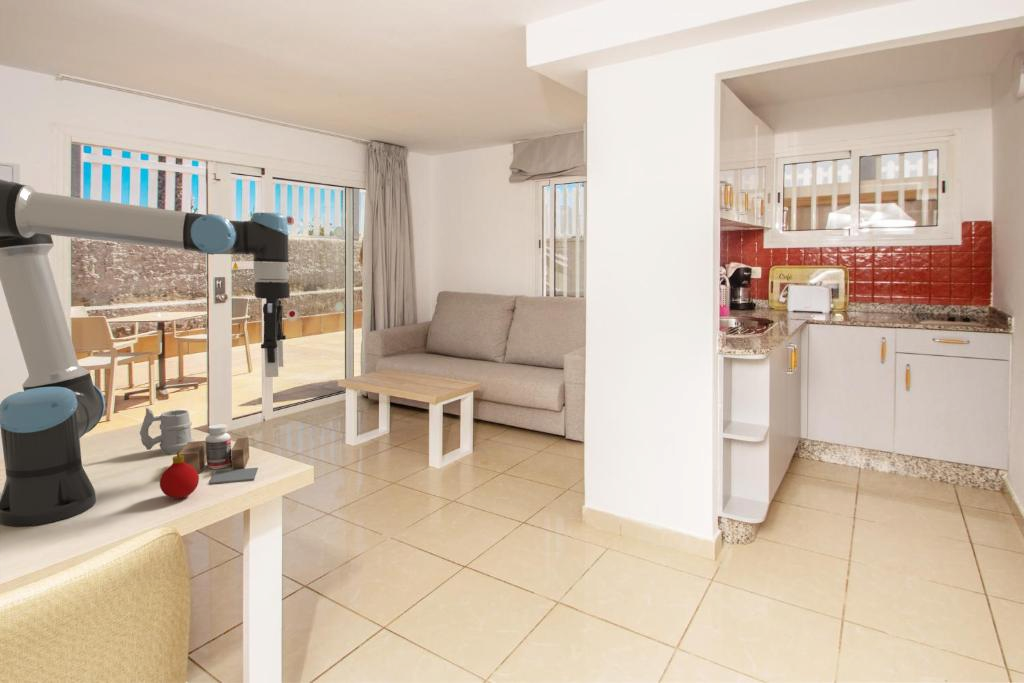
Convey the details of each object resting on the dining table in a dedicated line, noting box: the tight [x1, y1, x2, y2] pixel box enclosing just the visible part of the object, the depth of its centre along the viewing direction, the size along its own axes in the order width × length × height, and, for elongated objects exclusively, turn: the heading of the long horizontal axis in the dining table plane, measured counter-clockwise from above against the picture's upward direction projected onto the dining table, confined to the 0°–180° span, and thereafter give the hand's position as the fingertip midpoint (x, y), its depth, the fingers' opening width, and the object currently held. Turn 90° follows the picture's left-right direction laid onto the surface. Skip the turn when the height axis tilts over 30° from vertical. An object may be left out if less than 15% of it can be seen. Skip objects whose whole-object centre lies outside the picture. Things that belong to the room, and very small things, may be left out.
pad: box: [209, 467, 259, 485], centre depth 135 cm, size 9×8×1 cm
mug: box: [139, 407, 195, 455], centre depth 152 cm, size 8×12×12 cm, turn 125°
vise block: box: [179, 437, 250, 475], centre depth 142 cm, size 14×10×5 cm
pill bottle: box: [205, 423, 232, 470], centre depth 142 cm, size 5×5×10 cm
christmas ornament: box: [159, 451, 200, 499], centre depth 123 cm, size 7×7×10 cm
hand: (275, 371), depth 140 cm, fingers open, 13 cm apart
